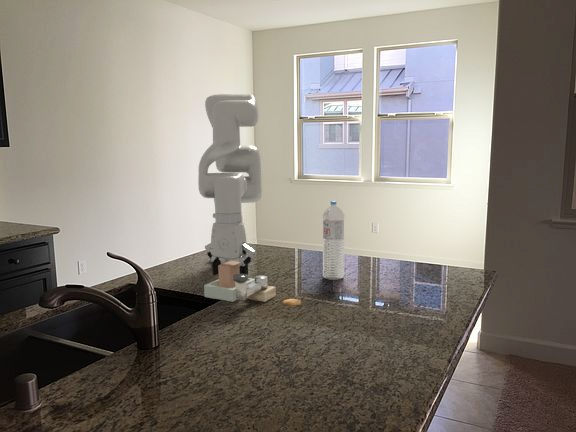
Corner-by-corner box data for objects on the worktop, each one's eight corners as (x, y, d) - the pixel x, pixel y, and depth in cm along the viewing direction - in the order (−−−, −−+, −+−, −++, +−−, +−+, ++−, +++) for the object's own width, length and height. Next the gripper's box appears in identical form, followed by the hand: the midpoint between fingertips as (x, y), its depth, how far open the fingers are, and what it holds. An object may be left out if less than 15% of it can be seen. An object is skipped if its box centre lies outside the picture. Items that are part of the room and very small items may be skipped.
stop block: (219, 292, 143) (218, 265, 142) (231, 286, 148) (230, 260, 147) (230, 294, 141) (229, 266, 140) (242, 288, 146) (241, 262, 145)
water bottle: (344, 280, 157) (345, 202, 153) (323, 280, 157) (323, 202, 153) (342, 274, 163) (343, 199, 159) (322, 274, 164) (322, 200, 160)
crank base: (246, 299, 140) (246, 289, 139) (258, 293, 145) (258, 284, 144) (294, 307, 132) (294, 297, 132) (305, 301, 137) (305, 291, 137)
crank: (258, 284, 143) (258, 264, 142) (270, 286, 141) (270, 266, 140) (230, 298, 131) (230, 276, 130) (243, 300, 129) (242, 278, 128)
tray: (204, 296, 142) (204, 285, 141) (229, 285, 152) (228, 274, 152) (232, 302, 137) (232, 290, 137) (256, 290, 147) (255, 279, 147)
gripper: (196, 218, 142) (198, 275, 145) (246, 222, 134) (247, 283, 136) (212, 214, 149) (214, 269, 151) (261, 218, 140) (262, 276, 143)
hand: (230, 276), depth 144 cm, fingers open, 9 cm apart
